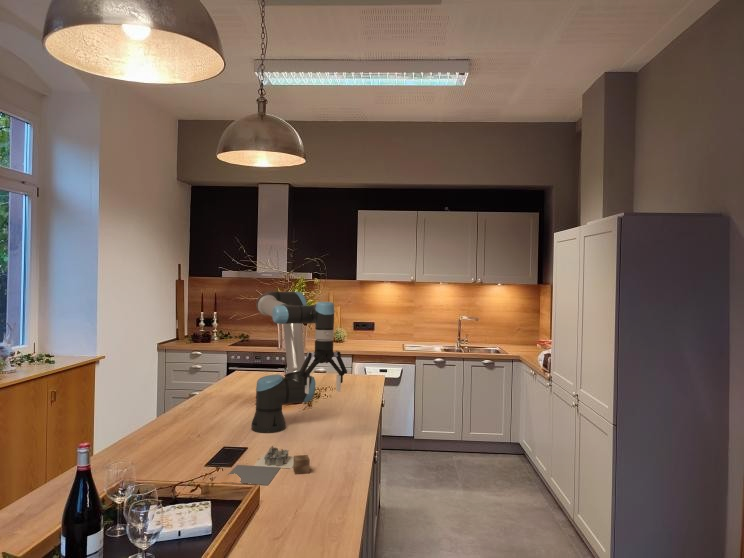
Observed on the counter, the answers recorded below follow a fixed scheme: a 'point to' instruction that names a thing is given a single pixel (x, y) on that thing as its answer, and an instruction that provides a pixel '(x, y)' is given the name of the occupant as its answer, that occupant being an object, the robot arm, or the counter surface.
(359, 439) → the counter surface
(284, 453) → the egg carton
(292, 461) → the tile
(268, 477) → the slate coaster
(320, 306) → the robot arm
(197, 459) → the counter surface
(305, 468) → the walnut block
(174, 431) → the counter surface
